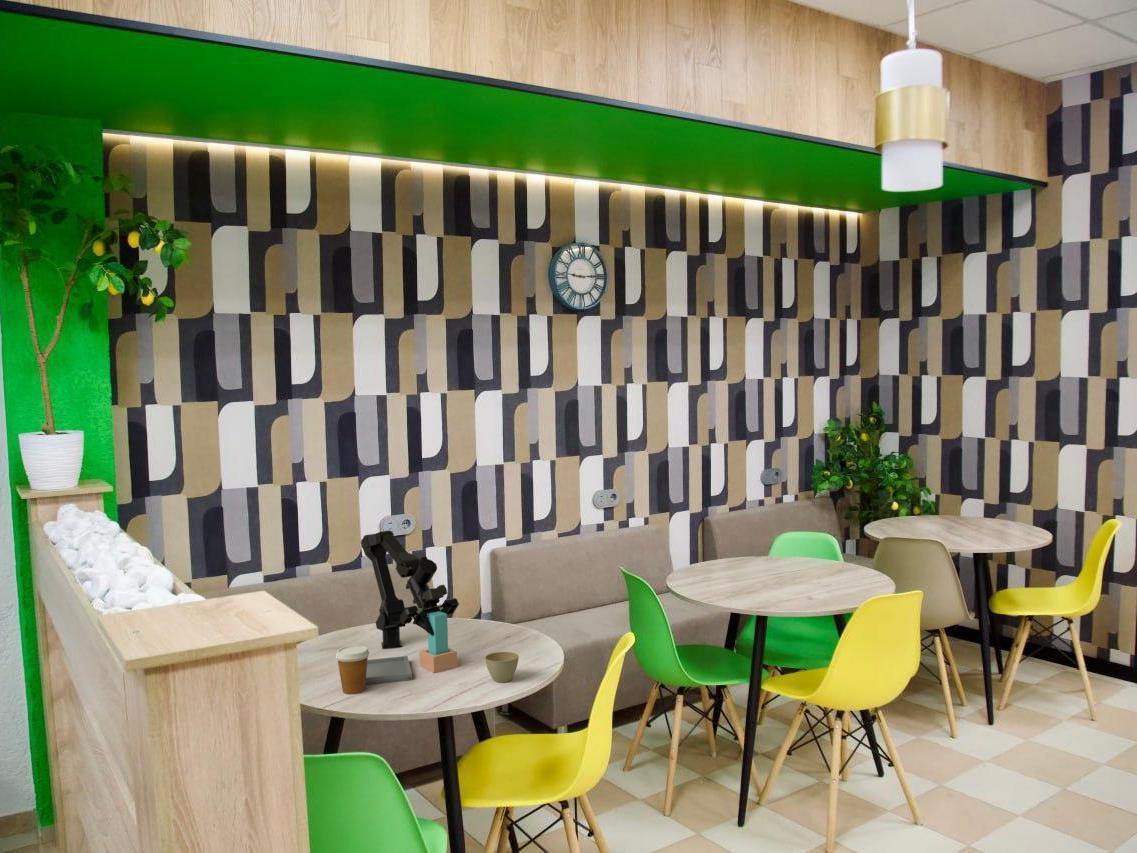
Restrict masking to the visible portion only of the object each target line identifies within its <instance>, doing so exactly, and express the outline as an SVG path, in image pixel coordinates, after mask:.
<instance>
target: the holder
mask: <svg viewBox="0 0 1137 853" xmlns="http://www.w3.org/2000/svg"><path fill="white" fill-rule="evenodd" d="M419 668H422V669H424V670H426V671H428V672H431V673H432V674H436V673H441V672H444V671H448V670H453V669H456V668H458V651H457V650H454V649H452V648H450V647H448V652H447V653H443V654H439V655H433V654H430V653H429V648H427V649H422V650H419Z"/></svg>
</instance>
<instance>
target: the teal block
mask: <svg viewBox="0 0 1137 853" xmlns="http://www.w3.org/2000/svg"><path fill="white" fill-rule="evenodd" d="M427 617H428V620H429V622H430V624H431V626H432V628H433V631H434V636H432V635H431V634H429V633H428V632H427V636H428V637H427V638H428V639H427V644H428V649H429V653H430V654H433V655H439V654H443V653H447V652H448V648H449V639H448V638H449V635H448V634H449V632H448V630H449V629H448V628H449V627H448V615H447V614H446V613H443V612H440V611H439V612H434V613H429V614H427ZM447 627H448V628H447Z"/></svg>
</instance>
